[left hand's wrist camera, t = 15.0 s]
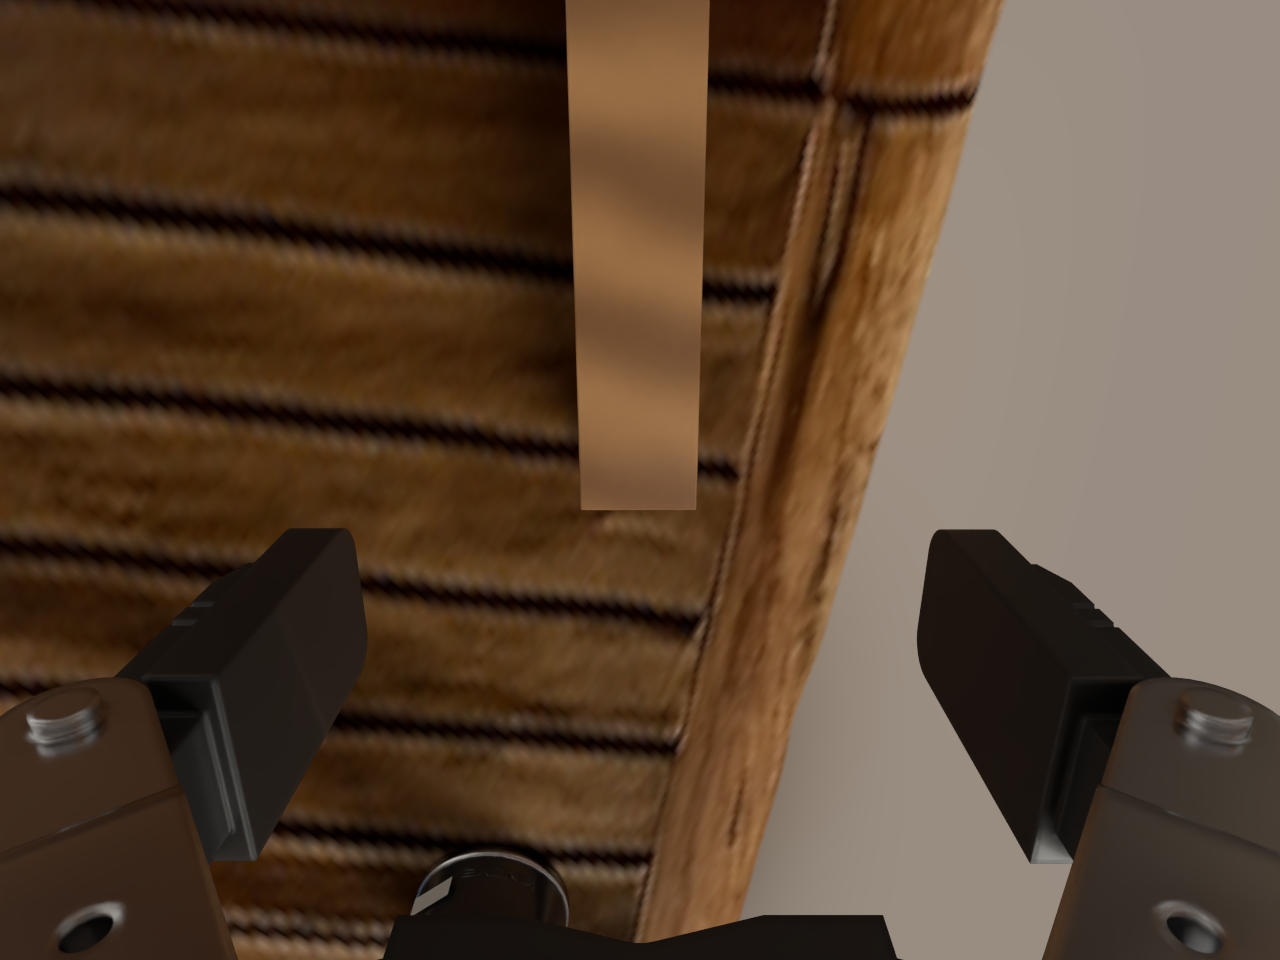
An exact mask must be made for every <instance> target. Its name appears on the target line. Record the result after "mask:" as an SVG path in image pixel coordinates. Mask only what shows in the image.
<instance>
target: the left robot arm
mask: <svg viewBox="0 0 1280 960" xmlns="http://www.w3.org/2000/svg"><path fill="white" fill-rule="evenodd" d="M172 622H173V623H172V626H167V627H166V628H165V629H164V630H162V631H161V632H160V633H159V634H158V635H157V636H156V637H155V638H154V639H153V640H152V641H151V642H150V643H149V644H148V645H147V646H146V647H145V648H144V649H143V650H142V651H141V652H140V653H138V654H137V655H136V656H135V657H134V658H133V659H132V660H131V661H130V662H129V663H128V664H127V665H126V666H125V667H124V668H123V669H122V670H121V671H120V672H119V673H118V674H117V675H115V676H114V677H110V678H96V679H89V680H84V681H78V682H74V683H71V684H67V685H63V686H60V687H57V688H54V689H51V690H48V691H46V692H43V693H41V694H39V695H36V696H34V697H32V698H30V699H28V700H26V701H24V702H22V703H20V704H18V705H17V706H15V707H13V708H12V709H10V710H8V711H7V712H6V713H4V714H3V715H1V716H0V960H238V958H237V955H236V952H235V949H234V946H233V942H232V939H231V936H230V933H229V930H228V927H227V924H226V920H225V917H224V914H223V911H222V908H221V905H220V901H219V898H218V895H217V892H216V889H215V886H214V882H213V879H212V876H211V873H210V870H209V867H208V866H209V865H210V863H211V862H212V861H256V860H257V858H258V856H259V855H260V853H261V851H262V849H263V847H264V846H265V844H266V842H267V840H268V838H269V837H270V835H271V833H272V831H273V830H274V828H275V826H276V824H277V822H278V821H279V819H280V817H281V815H282V813H283V812H284V810H285V808H286V806H287V804H288V803H289V801H290V799H291V797H292V795H293V794H294V792H295V790H296V788H297V787H298V785H299V783H300V781H301V779H302V778H303V776H304V774H305V772H306V770H307V769H308V767H309V765H310V763H311V761H312V760H313V758H314V756H315V754H316V753H317V751H318V749H319V747H320V745H321V744H322V742H323V740H324V738H325V736H326V735H327V733H328V731H329V729H330V727H331V726H332V724H333V722H334V720H335V719H336V717H337V715H338V713H339V711H340V710H341V708H342V706H343V704H344V702H345V701H346V699H347V697H348V695H349V693H350V692H351V690H352V688H353V686H354V685H355V683H356V681H357V679H358V677H359V675H360V673H361V671H362V668H363V665H364V662H365V657H366V650H367V627H366V619H365V612H364V605H363V598H362V591H361V584H360V577H359V570H358V563H357V556H356V549H355V544H354V540H353V537H352V535H351V533H350V532H349V531H348V530H347V529H345V528H291V529H288V530H287V531H286V532H284V533H283V534H282V535H281V537H280V538H279V539H278V540H277V541H276V542H275V543H274V544H273V545H272V546H271V547H270V548H269V549H268V550H267V551H266V552H265V553H264V554H263V555H262V556H261V557H260V558H259V559H258V560H257V561H256V562H255V563H248V564H246V565H244V566H242V567H240V568H238V569H236V570H234V571H232V572H231V573H229V574H227V575H225V576H223V577H221V578H219V579H217V580H216V581H214V582H213V583H212V584H211V585H210V586H208V587H207V588H206V589H205V590H204V591H203V592H202V593H201V594H200V595H199V596H198V597H197V598H196V599H195V600H194V601H193V602H192V603H191V607H187V608H185V609H184V610H183V611H182V612H181V613H180V614H179V615H178V616H177V617H176V618H175V619H174V620H173V621H172ZM1113 624H1114V623H1113V622H1112V621H1111V620H1110V619H1109V618H1108V617H1107V616H1106V615H1105V614H1104V613H1103V612H1102V611H1101V610H1100V609H1095V608H1094V604H1093V603H1092V602H1091V601H1090V600H1089V599H1088V598H1087V597H1086V596H1085V595H1084V594H1083V593H1082V592H1081V591H1080V590H1079V589H1078V588H1076V587H1075V586H1074V585H1073V584H1072V583H1071V582H1069V581H1067V580H1065V579H1063V578H1062V577H1060V576H1058V575H1056V574H1054V573H1052V572H1050V571H1048V570H1046V569H1045V568H1043V567H1041V566H1039V565H1037V564H1030V563H1029V562H1028V561H1027V560H1026V559H1025V558H1024V557H1023V556H1022V555H1021V554H1020V553H1019V552H1018V551H1017V550H1016V549H1015V548H1014V547H1013V546H1012V545H1011V544H1010V543H1009V542H1008V541H1007V540H1006V539H1005V538H1004V537H1003V536H1002V535H1001V534H1000V533H999V532H998V531H996V530H938V531H936V532H935V533H934V535H933V537H932V539H931V543H930V547H929V553H928V560H927V566H926V573H925V580H924V588H923V594H922V601H921V608H920V615H919V622H918V630H917V649H918V657H919V662H920V666H921V669H922V672H923V674H924V676H925V678H926V680H927V682H928V684H929V685H930V687H931V689H932V691H933V692H934V694H935V696H936V698H937V700H938V701H939V703H940V705H941V706H942V708H943V710H944V712H945V714H946V715H947V717H948V719H949V721H950V722H951V724H952V726H953V728H954V730H955V731H956V733H957V735H958V737H959V738H960V740H961V742H962V744H963V745H964V747H965V749H966V751H967V753H968V754H969V756H970V758H971V760H972V761H973V763H974V765H975V767H976V768H977V770H978V772H979V774H980V775H981V777H982V779H983V781H984V783H985V784H986V786H987V788H988V790H989V791H990V793H991V795H992V797H993V799H994V800H995V802H996V804H997V806H998V807H999V809H1000V811H1001V813H1002V814H1003V816H1004V818H1005V820H1006V822H1007V823H1008V825H1009V827H1010V829H1011V830H1012V832H1013V834H1014V836H1015V837H1016V839H1017V841H1018V843H1019V844H1020V846H1021V848H1022V850H1023V852H1024V853H1025V855H1026V857H1027V859H1028V860H1029V862H1030V864H1072V867H1071V870H1070V873H1069V876H1068V879H1067V882H1066V886H1065V889H1064V892H1063V895H1062V898H1061V901H1060V905H1059V908H1058V911H1057V914H1056V917H1055V921H1054V924H1053V927H1052V930H1051V933H1050V936H1049V939H1048V942H1047V946H1046V949H1045V952H1044V955H1043V958H1042V960H1280V716H1279V715H1277V714H1276V713H1274V712H1273V711H1271V710H1270V709H1268V708H1267V707H1265V706H1263V705H1262V704H1260V703H1258V702H1256V701H1254V700H1252V699H1250V698H1248V697H1246V696H1244V695H1241V694H1239V693H1237V692H1234V691H1232V690H1229V689H1226V688H1223V687H1220V686H1217V685H1213V684H1209V683H1206V682H1202V681H1196V680H1191V679H1183V678H1171V677H1170V676H1169V675H1168V674H1167V673H1166V672H1165V671H1164V670H1163V669H1162V668H1161V667H1160V666H1159V665H1158V664H1157V663H1156V662H1155V661H1153V660H1152V659H1151V658H1150V657H1149V656H1148V655H1147V654H1146V653H1145V652H1144V651H1143V650H1142V649H1141V648H1140V647H1139V646H1138V645H1137V644H1136V643H1134V642H1133V641H1132V640H1131V639H1130V638H1129V637H1128V636H1127V635H1126V634H1125V633H1124V632H1123V631H1122V630H1121V629H1120V628H1118V627H1114V625H1113ZM569 906H570V903H569V896H568V892H567V890H566V887H565V885H564V883H563V881H562V880H561V878H560V877H559V876H558V874H557V873H556V872H555V871H554V870H553V869H552V868H551V867H550V866H548V865H547V864H546V863H545V862H543V861H542V860H540V859H538V858H537V857H535V856H533V855H531V854H529V853H526V852H524V851H521V850H517V849H514V848H509V847H504V846H493V845H484V846H474V847H468V848H464V849H461V850H458V851H455V852H453V853H450V854H448V855H446V856H445V857H443V858H441V859H440V860H439V861H437V862H436V863H435V864H434V865H433V866H431V868H430V869H429V870H428V871H427V872H426V874H425V875H424V877H423V879H422V881H421V884H420V886H419V890H418V893H417V896H416V899H415V902H414V905H413V908H412V912H411V915H397V917H396V920H395V923H394V926H393V929H392V932H391V935H390V938H389V941H388V945H387V948H386V951H385V954H384V957H383V958H382V959H379V960H901V959H898V958H897V957H896V954H895V951H894V948H893V945H892V941H891V938H890V935H889V932H888V929H887V926H886V923H885V920H884V917H883V915H762V916H758V917H754V918H750V919H746V920H741V921H737V922H733V923H729V924H725V925H721V926H717V927H712V928H708V929H704V930H700V931H696V932H692V933H688V934H683V935H679V936H675V937H671V938H667V939H663V940H659V941H654V942H649V943H631V942H626V941H621V940H617V939H613V938H609V937H605V936H601V935H597V934H592V933H588V932H584V931H580V930H576V929H572V928H568V927H567V925H568V919H569Z"/></svg>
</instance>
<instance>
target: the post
mask: <svg viewBox="0 0 1280 960" xmlns="http://www.w3.org/2000/svg"><path fill="white" fill-rule="evenodd" d="M565 7H566V40H567V73H568V106H569V139H570V172H571V205H572V238H573V272H574V305H575V338H576V371H577V404H578V437H579V470H580V503H581V510H696V503H697V465H698V427H699V389H700V351H701V313H702V275H703V237H704V199H705V161H706V123H707V85H708V46H709V8H710V0H565Z"/></svg>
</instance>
